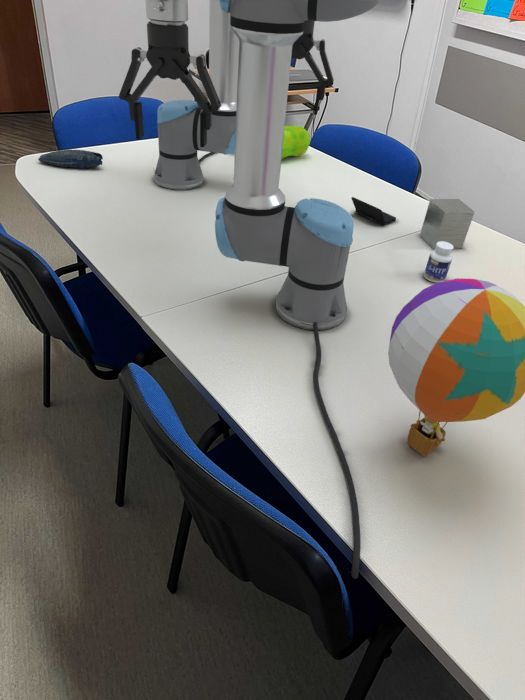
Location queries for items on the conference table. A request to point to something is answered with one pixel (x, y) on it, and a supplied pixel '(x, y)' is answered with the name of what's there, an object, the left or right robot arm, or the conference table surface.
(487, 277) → the conference table surface
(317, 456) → the conference table surface
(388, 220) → the handheld gaming console
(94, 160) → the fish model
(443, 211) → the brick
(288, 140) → the decorative tree
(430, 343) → the toy
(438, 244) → the pill bottle
